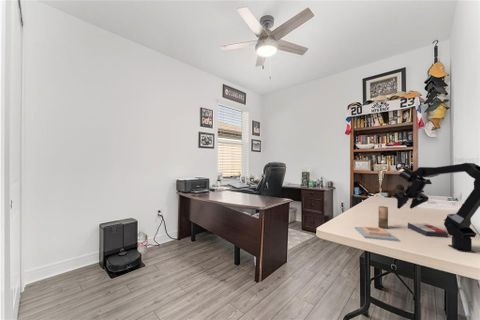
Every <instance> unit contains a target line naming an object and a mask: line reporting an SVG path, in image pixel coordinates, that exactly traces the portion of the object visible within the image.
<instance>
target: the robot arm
mask: <svg viewBox="0 0 480 320" xmlns="http://www.w3.org/2000/svg"><path fill="white" fill-rule="evenodd" d="M457 173H466V174H467V175H468V176H469V177H471V178H473V179H474V180H473V189H472V190H471V192H470V193H469V195H468V196H467V197H466V199H465V200H464V202H463V203H462V205H461V206H460V208H459V209H458V210H457V212H456V213H448V214H447V216H446V218H445V219H443V221H444V222H443V225H444V227H445V229H446V232H447V233H448V236H450V237H451V244H447V246H448V247H451V248H452V249H454V250H456V251H458V252H465V253H467V252H468V253H476V252H477V251H476V250H474V249H472V244H473V243H472V238H475V237H476V235H477V233H476V231H474V229H472V228H471V224H472V221H471V220H472V218H473V216H474V215H475V213H476V212H477V211H478V209H479V208H480V165H479V164H476V163H475V162H463V163H459V164H452V165H451V164H449V165H443V166H436V167H434V166H433V167H432V166H431V167H429V166H420V167H417V169H416V170H411V169H410V168H404V169H403V170H402V171H401V172H399V174H398V177H399V178H400V179H402V180H404V181H406V182H407V183H410V185H404V184H399V183H397V185H396V186H395V189H396V190H397V191H401V192H395V193H393V197H394V198H395V199H396V200H397V201H396V202H397V204H396V205H397V206H396V208H397V209H398V210H400V209H401V208H402V207H403V206H404V205H406V204H407V203H408V201H409V200H412V201H411V203H410V205H409V208H410V209H411V210H412V209H414V208H416V207H417V206H419V205H422V204H424V203H426V202H428V200H429V197H428V196H427V195H426V194H424V192H425V191H424V188H425V187H426V186H427V185H432V184H433V183H432V181H431V179H430V178H433V177H437V176H440V175H446V174H447V175H448V174H457ZM426 178H427V179H426ZM428 178H429V179H428Z"/></svg>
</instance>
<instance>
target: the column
mask: <svg viewBox="0 0 480 320" xmlns="http://www.w3.org/2000/svg"><path fill="white" fill-rule="evenodd" d="M377 221H378V227H377V228H381V229H384V230H388V229H389V207H388V206H384V205H383V206H382V205H379V206H378V220H377Z"/></svg>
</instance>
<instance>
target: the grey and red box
mask: <svg viewBox="0 0 480 320" xmlns="http://www.w3.org/2000/svg"><path fill="white" fill-rule="evenodd" d="M407 229H410V230H412V231H414V232H416V233H418V234H420V235H422V236H424V237H431V238H433V237H434V238H447V239H448V238H449V234H448V231H447V230H443V229H442V228H439V227H437V226H434V225H431V224H429V223H425V222H407Z"/></svg>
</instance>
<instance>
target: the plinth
mask: <svg viewBox="0 0 480 320" xmlns="http://www.w3.org/2000/svg"><path fill="white" fill-rule="evenodd" d="M354 230H355V231H357V232H358V233H359V234H360V235H361V236H362V237H363V238H364V239H374V240H382V241H392V242H400V239H399V238H398V237H397V236H395V235H394V234H392V233H391V232H389V231H387V229H382V228H379V227H372V226H363V225H362V227H360V226H354Z"/></svg>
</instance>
